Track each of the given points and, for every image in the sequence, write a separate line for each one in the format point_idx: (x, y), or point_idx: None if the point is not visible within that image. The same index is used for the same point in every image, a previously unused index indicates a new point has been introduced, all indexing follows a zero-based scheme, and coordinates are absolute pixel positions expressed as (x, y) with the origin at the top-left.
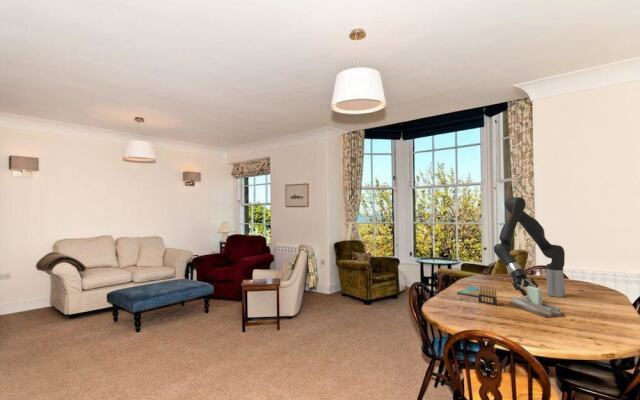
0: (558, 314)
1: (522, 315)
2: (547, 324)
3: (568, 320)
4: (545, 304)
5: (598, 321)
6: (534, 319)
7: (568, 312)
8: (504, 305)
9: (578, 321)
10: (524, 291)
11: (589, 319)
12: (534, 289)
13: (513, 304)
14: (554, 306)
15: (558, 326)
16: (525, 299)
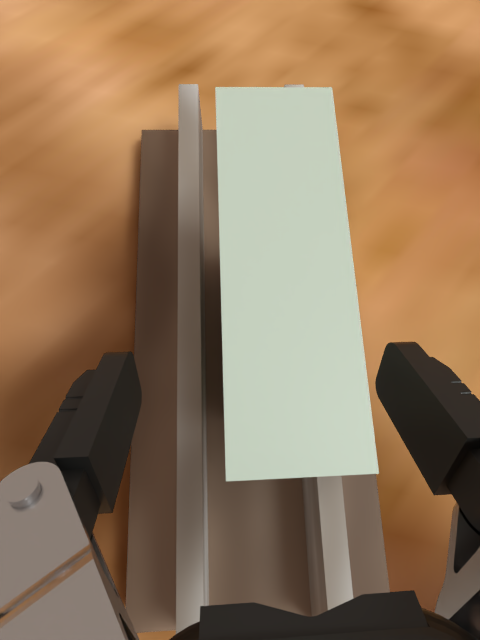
0: (204, 135)
1: (465, 235)
2: (420, 45)
3: (214, 70)
4: (200, 229)
5: (34, 12)
6: (436, 138)
7: (18, 215)
8: (443, 582)
9: (166, 41)
10: (442, 382)
11: (47, 53)
12: (336, 198)
13: (378, 526)
14: (188, 132)
15: (379, 6)
16: (205, 558)
